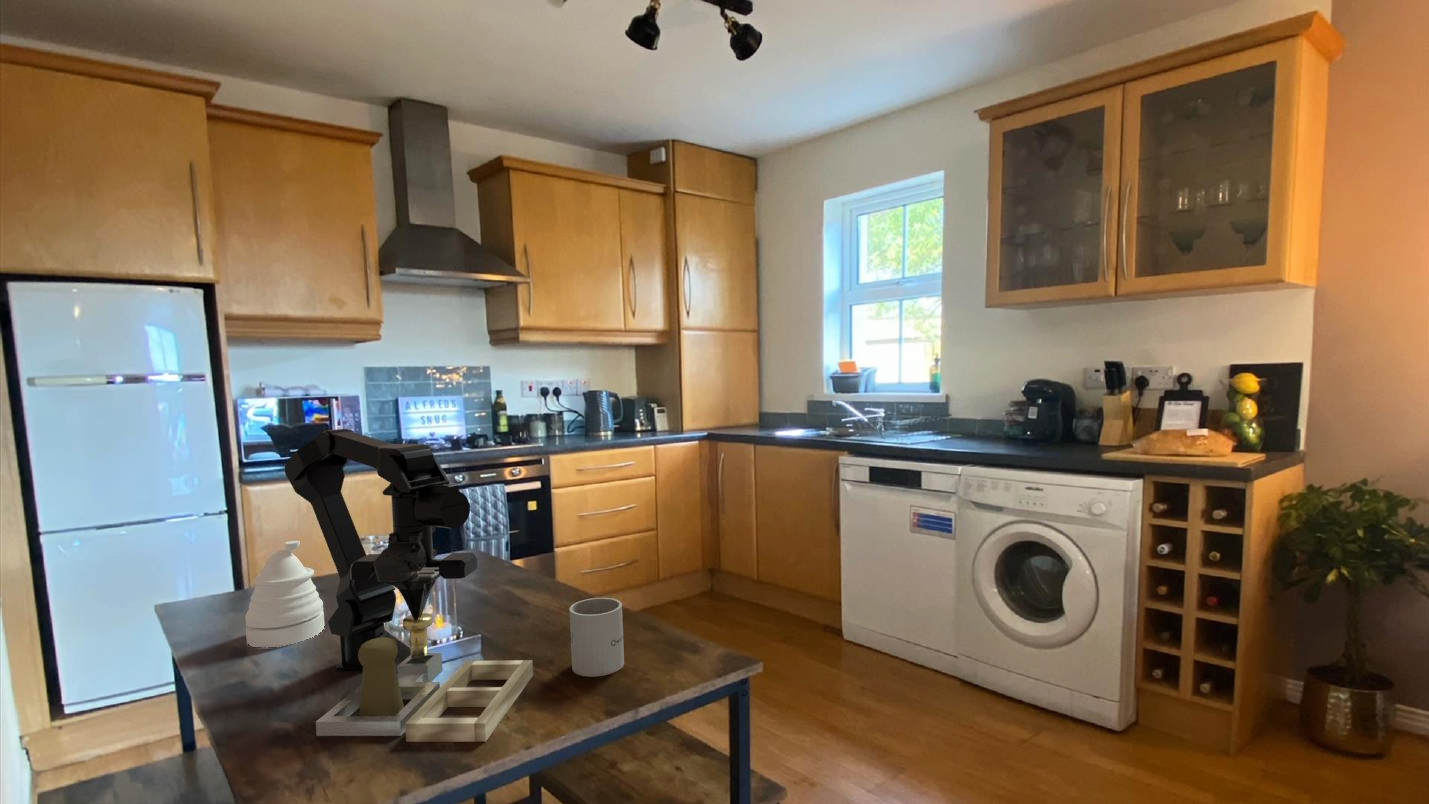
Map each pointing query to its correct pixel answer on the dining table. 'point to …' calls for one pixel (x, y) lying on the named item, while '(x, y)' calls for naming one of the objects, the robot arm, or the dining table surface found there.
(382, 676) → the cork
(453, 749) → the dining table surface
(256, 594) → the honey pot
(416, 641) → the release key
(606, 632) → the mug
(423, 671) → the socket block
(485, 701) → the rack
